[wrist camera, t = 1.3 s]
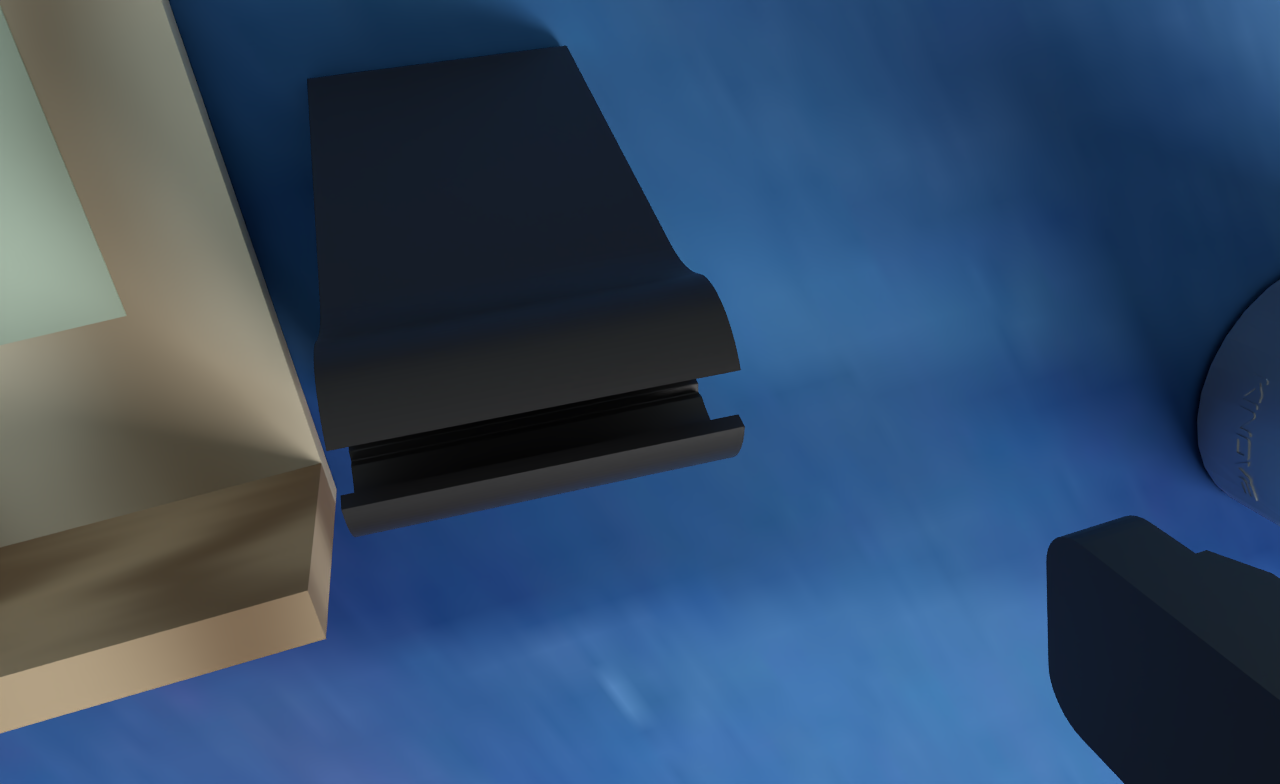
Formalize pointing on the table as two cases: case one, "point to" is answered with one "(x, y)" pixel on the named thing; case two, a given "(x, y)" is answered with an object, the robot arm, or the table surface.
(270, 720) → the table surface
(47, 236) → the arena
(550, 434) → the phone stand
